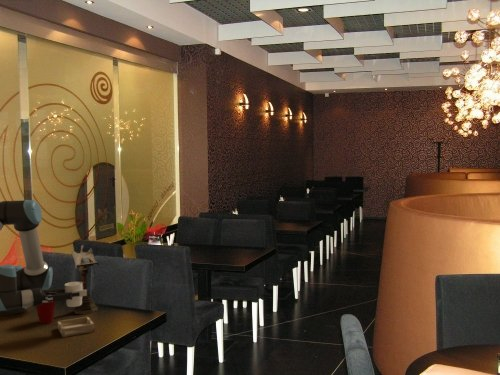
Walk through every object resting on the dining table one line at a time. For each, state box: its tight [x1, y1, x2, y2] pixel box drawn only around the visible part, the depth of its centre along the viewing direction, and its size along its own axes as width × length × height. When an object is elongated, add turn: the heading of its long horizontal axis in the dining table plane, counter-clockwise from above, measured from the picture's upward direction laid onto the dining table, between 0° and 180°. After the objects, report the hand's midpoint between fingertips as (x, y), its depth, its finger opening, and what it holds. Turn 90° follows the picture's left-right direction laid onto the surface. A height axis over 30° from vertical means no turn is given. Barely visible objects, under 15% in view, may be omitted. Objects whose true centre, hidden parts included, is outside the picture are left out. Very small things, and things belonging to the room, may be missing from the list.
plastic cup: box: [35, 300, 57, 325], centre depth 261 cm, size 11×11×12 cm
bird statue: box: [71, 244, 100, 315], centre depth 275 cm, size 17×13×35 cm
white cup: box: [64, 281, 83, 308], centre depth 246 cm, size 8×8×10 cm
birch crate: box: [56, 316, 95, 338], centre depth 247 cm, size 14×14×4 cm
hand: (84, 290), depth 248 cm, fingers closed on white cup, 8 cm apart
